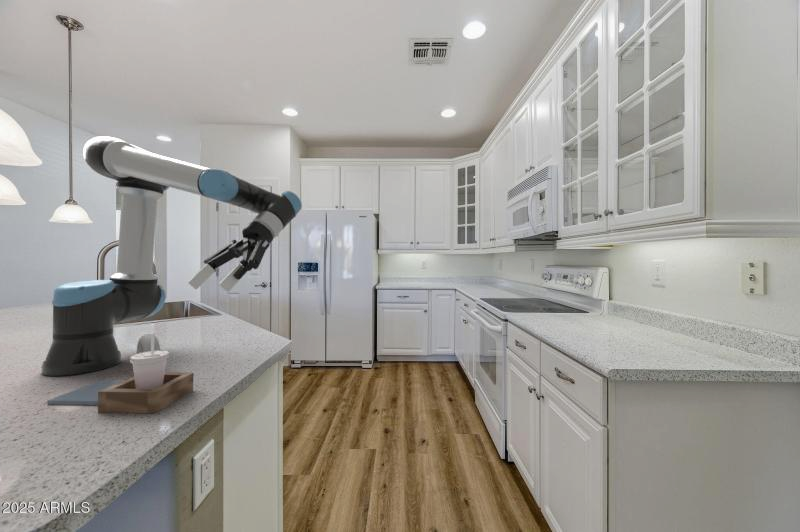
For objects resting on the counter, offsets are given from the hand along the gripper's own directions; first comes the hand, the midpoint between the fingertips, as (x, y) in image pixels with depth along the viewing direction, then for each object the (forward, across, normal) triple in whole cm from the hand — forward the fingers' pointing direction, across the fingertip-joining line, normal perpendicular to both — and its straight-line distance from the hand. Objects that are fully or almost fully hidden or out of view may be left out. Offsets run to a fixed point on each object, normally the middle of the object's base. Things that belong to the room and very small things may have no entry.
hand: (206, 286), depth 74 cm
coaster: (+27, +14, -6) cm, 31 cm away
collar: (+24, +1, -9) cm, 26 cm away
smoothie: (+24, +1, -9) cm, 26 cm away
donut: (+19, +21, -14) cm, 32 cm away
